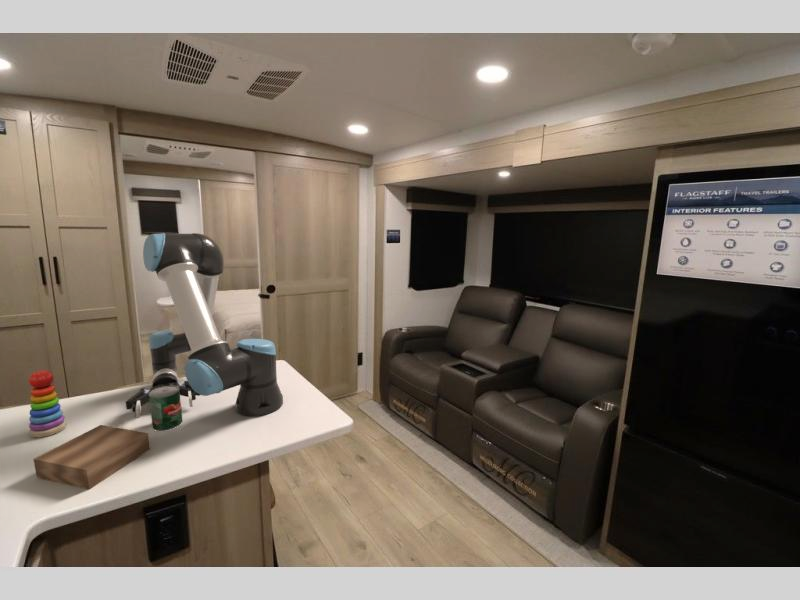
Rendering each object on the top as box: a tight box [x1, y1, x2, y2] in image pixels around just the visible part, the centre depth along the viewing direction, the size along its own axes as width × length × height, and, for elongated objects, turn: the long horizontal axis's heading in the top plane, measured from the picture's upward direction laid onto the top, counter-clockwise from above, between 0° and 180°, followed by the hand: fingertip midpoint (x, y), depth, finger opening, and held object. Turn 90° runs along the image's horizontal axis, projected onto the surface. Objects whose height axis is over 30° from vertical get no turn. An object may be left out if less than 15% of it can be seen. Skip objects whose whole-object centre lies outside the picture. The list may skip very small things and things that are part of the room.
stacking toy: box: [28, 369, 67, 438], centre depth 106 cm, size 8×8×19 cm
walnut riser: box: [33, 424, 151, 490], centre depth 94 cm, size 16×16×5 cm
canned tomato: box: [149, 386, 183, 432], centre depth 112 cm, size 8×8×11 cm
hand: (165, 408), depth 111 cm, fingers open, 13 cm apart
